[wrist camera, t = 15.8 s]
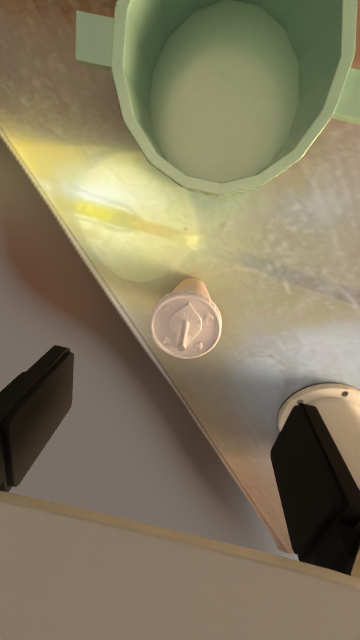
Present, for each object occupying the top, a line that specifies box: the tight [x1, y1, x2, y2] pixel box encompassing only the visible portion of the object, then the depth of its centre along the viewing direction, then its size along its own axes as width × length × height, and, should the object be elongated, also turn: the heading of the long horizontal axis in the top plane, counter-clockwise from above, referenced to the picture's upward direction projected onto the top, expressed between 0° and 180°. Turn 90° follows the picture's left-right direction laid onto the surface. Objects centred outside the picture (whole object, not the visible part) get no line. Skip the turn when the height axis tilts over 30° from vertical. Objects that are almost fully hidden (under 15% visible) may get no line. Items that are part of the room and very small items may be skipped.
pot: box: [75, 0, 360, 197], centre depth 20 cm, size 15×20×8 cm
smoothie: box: [149, 278, 222, 359], centre depth 25 cm, size 6×6×14 cm
